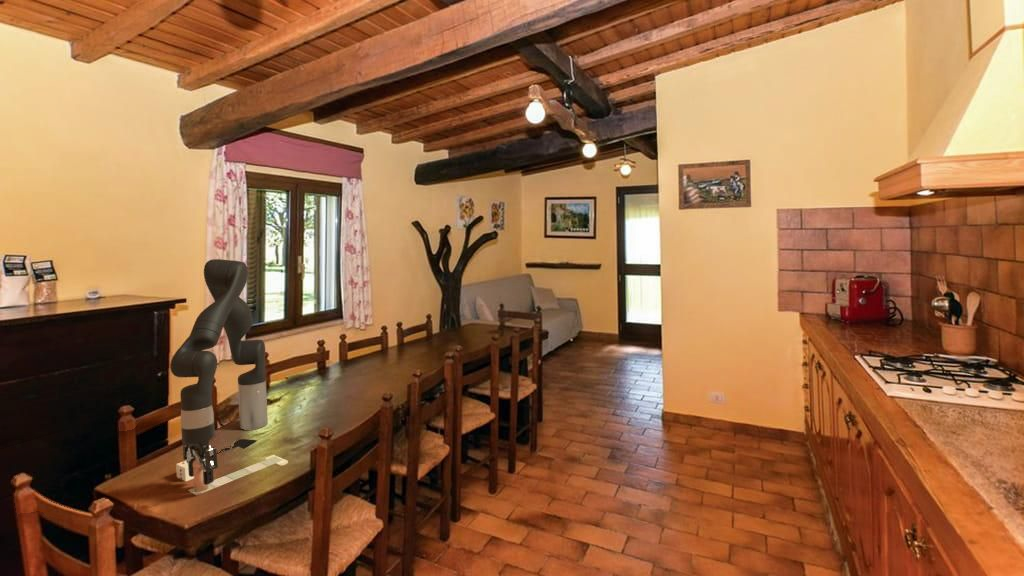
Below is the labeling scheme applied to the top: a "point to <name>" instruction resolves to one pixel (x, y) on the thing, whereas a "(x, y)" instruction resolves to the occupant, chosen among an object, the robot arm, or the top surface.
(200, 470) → the pawn
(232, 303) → the robot arm
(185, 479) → the die
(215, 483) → the board
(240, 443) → the smartphone
